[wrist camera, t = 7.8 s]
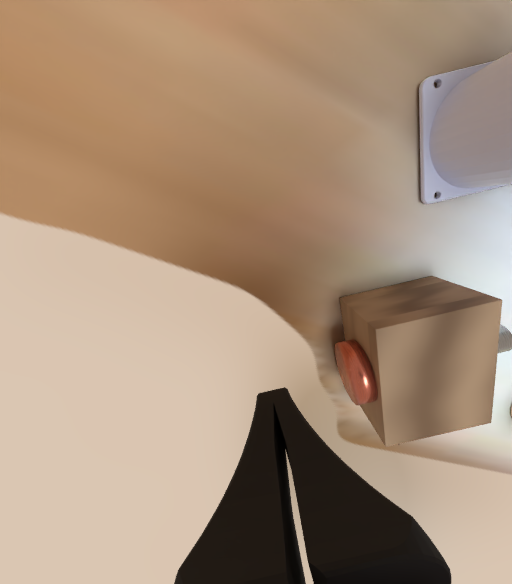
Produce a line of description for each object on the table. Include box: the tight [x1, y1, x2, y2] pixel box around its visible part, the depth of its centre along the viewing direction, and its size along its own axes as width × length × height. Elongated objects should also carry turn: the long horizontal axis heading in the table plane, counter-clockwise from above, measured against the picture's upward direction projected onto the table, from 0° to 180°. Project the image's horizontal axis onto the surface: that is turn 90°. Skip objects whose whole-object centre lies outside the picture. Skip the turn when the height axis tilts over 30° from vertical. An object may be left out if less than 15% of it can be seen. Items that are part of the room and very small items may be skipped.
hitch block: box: [340, 276, 502, 447], centre depth 20 cm, size 8×10×6 cm
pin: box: [335, 325, 512, 405], centre depth 20 cm, size 12×5×5 cm, turn 103°
